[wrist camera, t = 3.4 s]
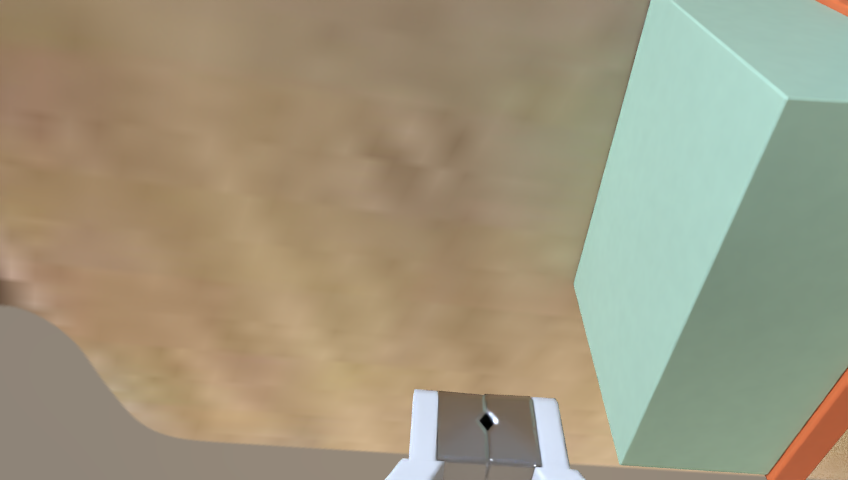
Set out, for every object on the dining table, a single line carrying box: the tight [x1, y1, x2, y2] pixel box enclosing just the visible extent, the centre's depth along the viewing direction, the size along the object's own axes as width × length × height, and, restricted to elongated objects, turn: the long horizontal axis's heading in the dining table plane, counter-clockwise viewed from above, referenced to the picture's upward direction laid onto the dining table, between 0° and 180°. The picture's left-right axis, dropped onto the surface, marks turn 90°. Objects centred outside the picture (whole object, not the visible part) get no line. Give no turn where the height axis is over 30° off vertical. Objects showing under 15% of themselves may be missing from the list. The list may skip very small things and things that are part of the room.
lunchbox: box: [574, 0, 848, 480], centre depth 17 cm, size 6×13×9 cm, turn 177°
